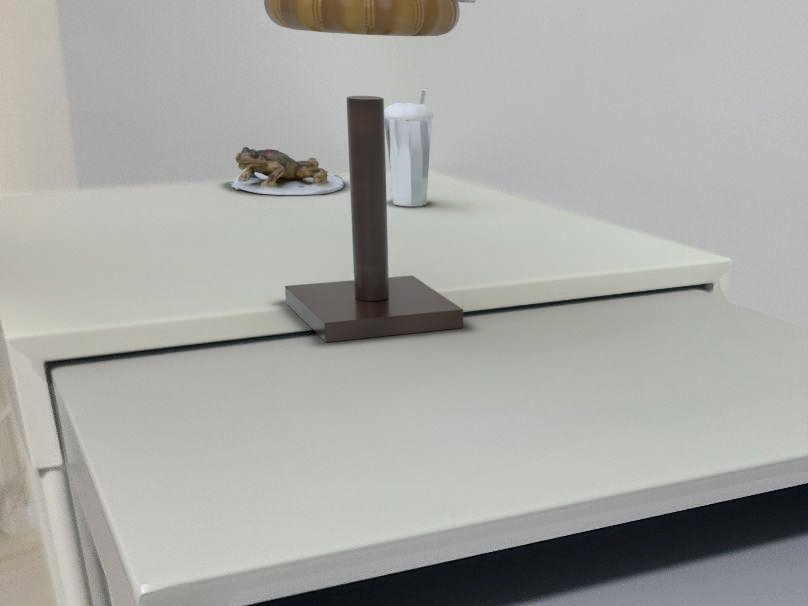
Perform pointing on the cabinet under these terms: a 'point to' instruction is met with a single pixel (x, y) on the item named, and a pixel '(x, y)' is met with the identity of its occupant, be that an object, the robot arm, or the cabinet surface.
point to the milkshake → (409, 150)
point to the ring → (366, 16)
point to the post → (370, 255)
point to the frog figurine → (282, 174)
